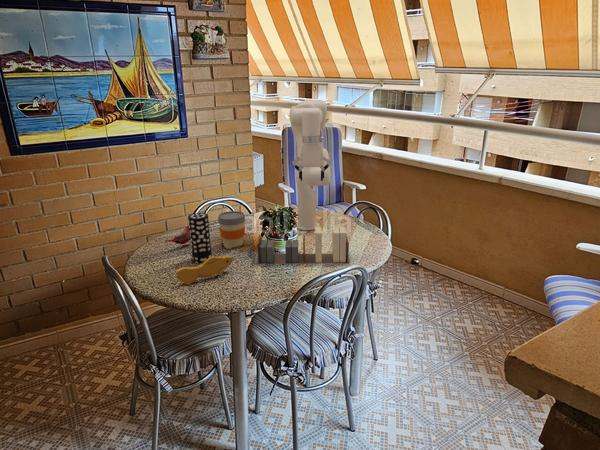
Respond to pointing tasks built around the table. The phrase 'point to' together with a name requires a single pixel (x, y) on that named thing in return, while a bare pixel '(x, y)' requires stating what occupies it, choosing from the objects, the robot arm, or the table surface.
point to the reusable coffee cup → (232, 228)
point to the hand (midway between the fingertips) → (311, 180)
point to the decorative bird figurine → (181, 237)
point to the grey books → (268, 251)
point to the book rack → (303, 256)
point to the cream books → (339, 244)
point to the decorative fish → (204, 269)
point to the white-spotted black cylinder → (200, 237)
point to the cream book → (318, 244)
